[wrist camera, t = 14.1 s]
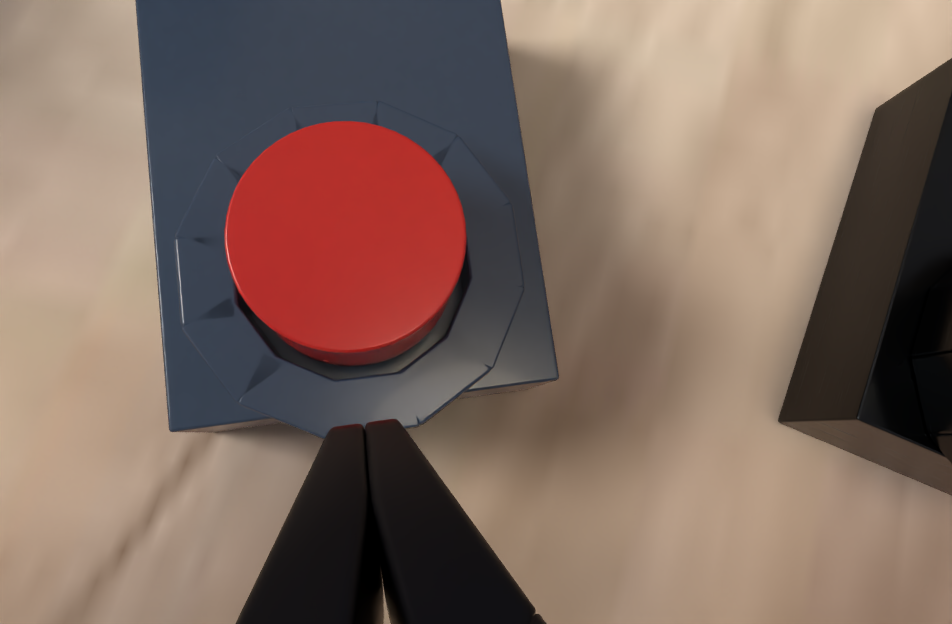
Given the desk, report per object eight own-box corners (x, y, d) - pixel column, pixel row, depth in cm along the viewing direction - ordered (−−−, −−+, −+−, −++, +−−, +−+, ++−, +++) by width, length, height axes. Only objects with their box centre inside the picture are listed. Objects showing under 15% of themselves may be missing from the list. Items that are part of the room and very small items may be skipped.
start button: (466, 352, 16) (482, 336, 14) (260, 379, 16) (235, 367, 13) (439, 161, 17) (450, 110, 14) (241, 179, 16) (213, 129, 14)
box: (532, 411, 22) (582, 403, 16) (211, 457, 20) (146, 465, 15) (476, 37, 23) (505, -85, 18) (177, 58, 22) (107, -67, 16)
